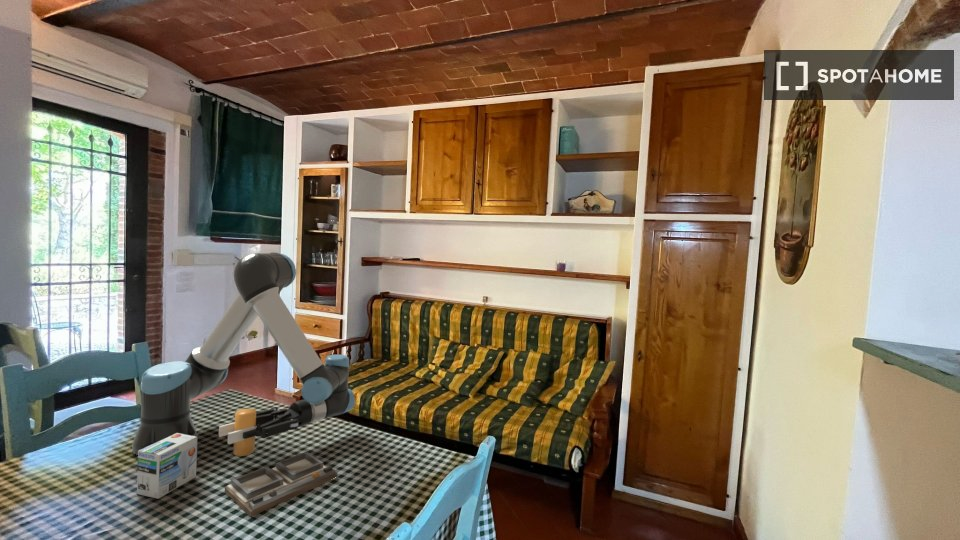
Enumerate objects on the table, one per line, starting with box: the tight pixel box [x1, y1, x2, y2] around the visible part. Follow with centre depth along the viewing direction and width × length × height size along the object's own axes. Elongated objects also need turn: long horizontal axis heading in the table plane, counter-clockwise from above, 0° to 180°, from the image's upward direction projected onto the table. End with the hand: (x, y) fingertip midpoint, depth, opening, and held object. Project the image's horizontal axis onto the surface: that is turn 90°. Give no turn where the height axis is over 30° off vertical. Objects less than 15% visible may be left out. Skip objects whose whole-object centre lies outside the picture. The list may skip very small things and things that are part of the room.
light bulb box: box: [136, 433, 198, 500], centre depth 103 cm, size 11×7×11 cm, turn 168°
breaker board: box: [224, 451, 338, 517], centre depth 106 cm, size 14×22×3 cm, turn 142°
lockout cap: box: [233, 407, 257, 457], centre depth 113 cm, size 5×5×11 cm
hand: (223, 435), depth 109 cm, fingers closed on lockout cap, 5 cm apart
